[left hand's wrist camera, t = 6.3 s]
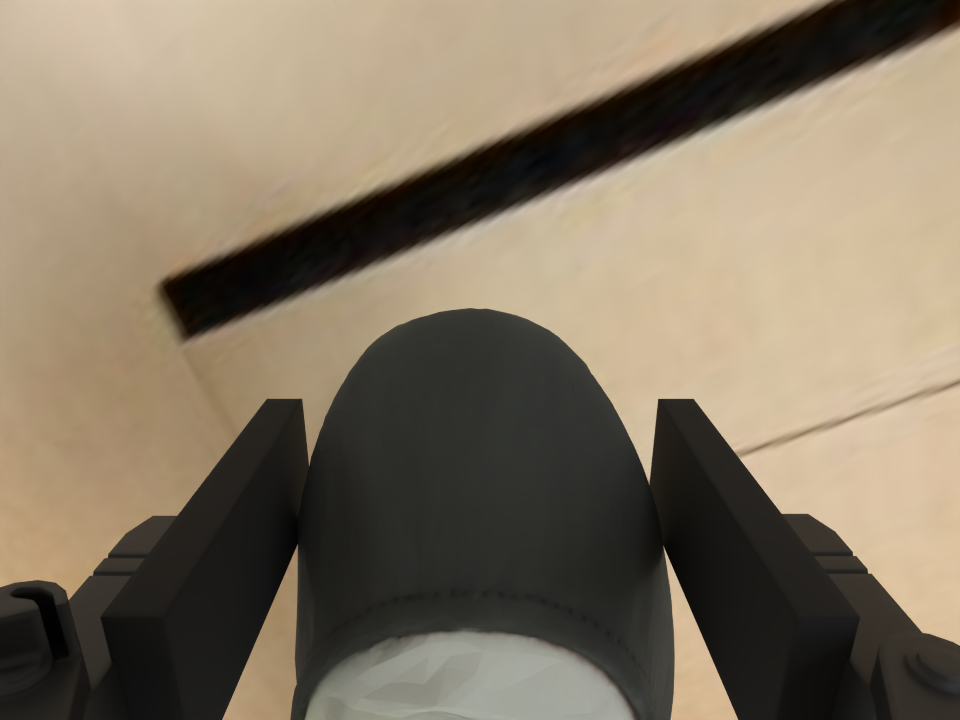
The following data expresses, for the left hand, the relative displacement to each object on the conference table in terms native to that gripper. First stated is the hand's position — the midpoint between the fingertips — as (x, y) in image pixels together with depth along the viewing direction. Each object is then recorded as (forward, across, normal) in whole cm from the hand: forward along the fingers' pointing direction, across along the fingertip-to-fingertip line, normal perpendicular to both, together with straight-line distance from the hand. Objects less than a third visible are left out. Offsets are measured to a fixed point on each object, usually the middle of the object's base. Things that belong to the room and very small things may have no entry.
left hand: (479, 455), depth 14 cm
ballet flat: (0, 0, -8) cm, 8 cm away
